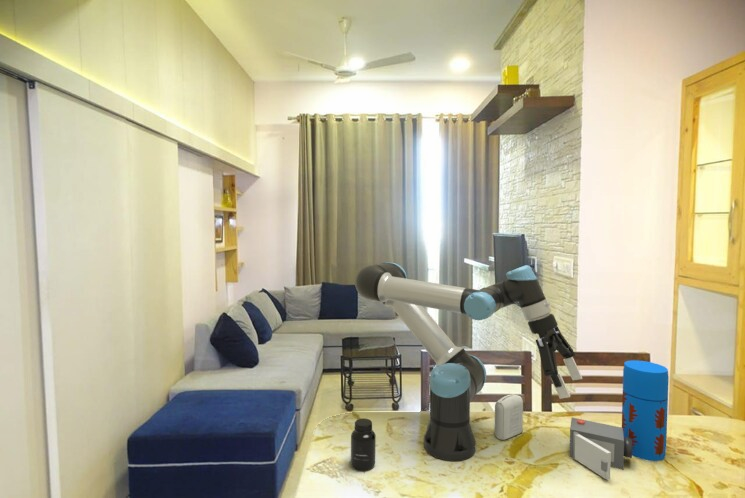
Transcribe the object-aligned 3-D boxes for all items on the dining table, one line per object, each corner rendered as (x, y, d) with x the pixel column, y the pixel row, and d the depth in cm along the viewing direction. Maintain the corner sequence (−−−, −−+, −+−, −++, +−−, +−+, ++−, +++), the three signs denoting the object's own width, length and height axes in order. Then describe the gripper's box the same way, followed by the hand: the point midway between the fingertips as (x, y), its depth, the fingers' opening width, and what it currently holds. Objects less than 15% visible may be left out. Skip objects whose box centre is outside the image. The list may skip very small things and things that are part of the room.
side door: (569, 458, 112) (570, 432, 112) (575, 457, 113) (575, 431, 113) (604, 481, 102) (605, 453, 102) (610, 479, 103) (611, 451, 102)
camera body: (569, 456, 114) (570, 427, 113) (571, 443, 121) (571, 415, 120) (632, 472, 106) (633, 440, 106) (630, 456, 113) (630, 427, 113)
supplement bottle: (357, 474, 106) (357, 430, 105) (346, 461, 112) (346, 419, 111) (380, 467, 109) (379, 424, 109) (368, 455, 115) (368, 414, 115)
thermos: (661, 445, 119) (664, 363, 118) (670, 465, 109) (673, 375, 108) (618, 438, 124) (620, 358, 122) (623, 455, 114) (626, 369, 113)
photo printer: (513, 426, 131) (513, 389, 130) (524, 432, 127) (525, 394, 127) (492, 436, 125) (492, 397, 125) (503, 442, 122) (503, 402, 121)
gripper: (537, 324, 105) (573, 404, 102) (563, 304, 124) (594, 370, 121) (512, 331, 110) (545, 408, 106) (540, 310, 129) (570, 375, 125)
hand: (571, 388), depth 113 cm, fingers open, 13 cm apart
